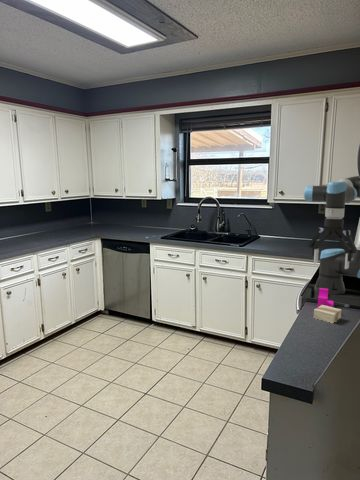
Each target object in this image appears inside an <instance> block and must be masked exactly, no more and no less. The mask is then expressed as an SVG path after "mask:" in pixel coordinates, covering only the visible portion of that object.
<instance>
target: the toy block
mask: <svg viewBox="0 0 360 480" xmlns="http://www.w3.org/2000/svg"><path fill="white" fill-rule="evenodd" d="M328 299H329V294H328V289H325V288H319V292H318V297H317V308H318V307H319V306H321V305H325V306H329V307H333V308H334V300H330V299H329V300H328Z"/></svg>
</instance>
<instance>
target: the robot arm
mask: <svg viewBox="0 0 360 480" xmlns="http://www.w3.org/2000/svg"><path fill="white" fill-rule="evenodd" d="M359 176H360V175H355V176H350V177H346V178H342V179H338V181H329V182H328V183H325V184H320V185H307V186H306V187H305V188H304V191H303V199H304V200H305V201H306V202H311V203H325V213H324V217H325V218H324V228H323V227H316V230H315V231H316V232H315V234H314V236H313V238H312V239H311V241H310V242H309V244H308V247H309V248H311V249H312V253H311V255H312V256H313V264H314V265H316V264H317V263H318V264H319V273H318V274H319V275H318V278H317V279H316V283H315V284H314V290H315V292H317V293H319V288H325V289H328V295H339V296H340V295H344V294H345V293H346V288H345V283H344V281H343V279H344V278H343V276H348V277H354V278H358V279H360V218H359V220H358V225H357V229H356V233H355V238H354V240H353V237H352V233H351V232H352V231H351V230H350V229H347V230H344V222H345V221H344V217H345V210H346V207H345V206H346V204H350V203H352V202H354V201H355V200H356V199H357V198H359V199H360V178H359ZM322 233H324V235H323V236H322V237H321V234H322ZM343 235H344V236H345V238H346V240H345V239H344V237H343ZM319 237H321V238H320V239H319ZM318 239H319V240H318ZM327 239H328V240H334V241H335V240H337V242H339V243H340V244H341V246H342V247H343V248H344V249H343V248H326V249H324V250H323V249H322V250H321V251H319V249H320V248H318V247H320V246H321V245H322V244H323V243H324V242H325V241H326V240H327ZM346 241H347V242H348V243H347V242H346ZM319 252H320V255H319Z"/></svg>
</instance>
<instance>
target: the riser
mask: <svg viewBox="0 0 360 480" xmlns="http://www.w3.org/2000/svg"><path fill="white" fill-rule="evenodd" d="M313 318H315V319H314V320H317V319H319V320H318V321H321V320H323V321H322V322H325V321H326V323H329V322H330V323H329V324H335V323H337V322H338V321H340V320H341V319H342V309H341V308H336V307H334V306H333V307H329V306H325V305H321V306H319V307H318V306H317V307H316V308H314V309H313ZM340 318H341V319H340ZM339 319H340V320H339ZM337 320H338V321H337ZM334 322H335V323H334Z"/></svg>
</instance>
